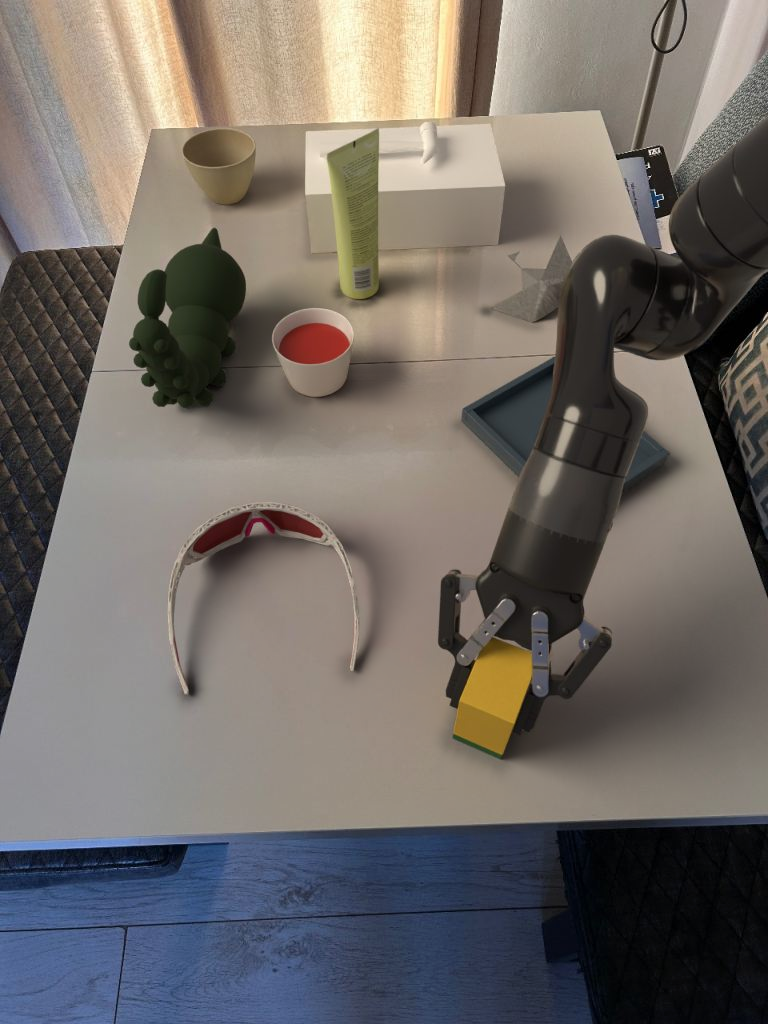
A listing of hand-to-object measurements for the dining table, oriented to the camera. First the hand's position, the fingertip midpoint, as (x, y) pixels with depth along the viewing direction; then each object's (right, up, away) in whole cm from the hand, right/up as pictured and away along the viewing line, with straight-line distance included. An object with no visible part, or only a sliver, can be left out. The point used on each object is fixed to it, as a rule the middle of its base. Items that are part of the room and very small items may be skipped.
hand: (486, 716), depth 61 cm
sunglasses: (-19, +8, +12) cm, 24 cm away
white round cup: (-16, +32, +28) cm, 46 cm away
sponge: (+1, -1, +5) cm, 6 cm away
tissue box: (-6, +57, +46) cm, 74 cm away
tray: (+11, +24, +22) cm, 34 cm away
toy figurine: (-29, +34, +30) cm, 55 cm away
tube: (-11, +45, +37) cm, 60 cm away
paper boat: (+11, +43, +36) cm, 57 cm away
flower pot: (-31, +62, +49) cm, 85 cm away
